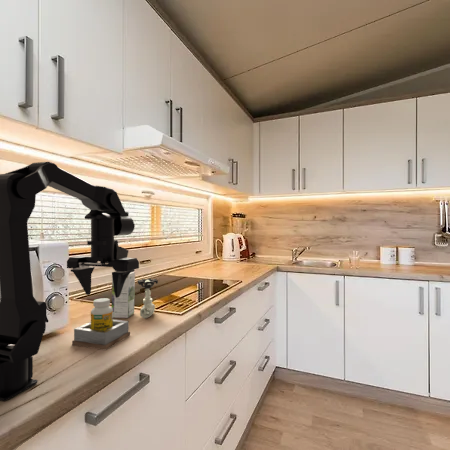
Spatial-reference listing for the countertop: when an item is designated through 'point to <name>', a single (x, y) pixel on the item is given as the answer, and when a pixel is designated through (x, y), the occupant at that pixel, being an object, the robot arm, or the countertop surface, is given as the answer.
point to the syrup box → (124, 298)
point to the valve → (147, 298)
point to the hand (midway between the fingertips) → (102, 295)
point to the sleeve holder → (100, 335)
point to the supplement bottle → (101, 315)
